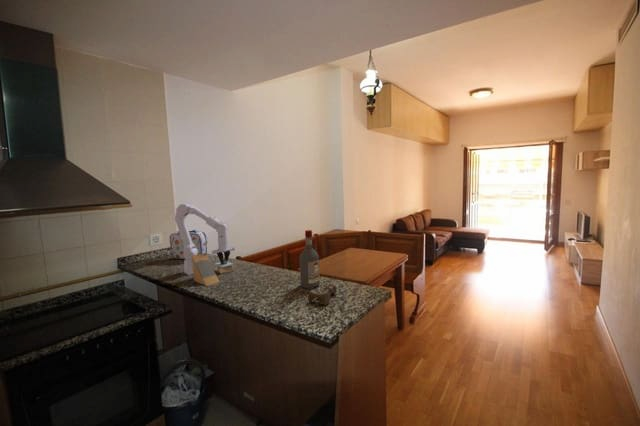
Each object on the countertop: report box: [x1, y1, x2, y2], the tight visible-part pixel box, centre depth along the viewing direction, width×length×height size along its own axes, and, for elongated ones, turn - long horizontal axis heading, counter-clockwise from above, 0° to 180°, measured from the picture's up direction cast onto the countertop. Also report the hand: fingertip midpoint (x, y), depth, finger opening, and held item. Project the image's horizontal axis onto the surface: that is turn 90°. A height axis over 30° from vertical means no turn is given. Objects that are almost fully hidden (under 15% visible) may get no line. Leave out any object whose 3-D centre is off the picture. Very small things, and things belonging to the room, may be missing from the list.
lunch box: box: [169, 229, 209, 260], centre depth 230 cm, size 28×10×22 cm, turn 81°
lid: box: [214, 258, 235, 268], centre depth 197 cm, size 10×8×3 cm
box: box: [214, 265, 235, 275], centre depth 198 cm, size 10×8×3 cm
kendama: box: [307, 283, 337, 306], centre depth 147 cm, size 6×10×20 cm
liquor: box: [299, 229, 321, 289], centre depth 166 cm, size 9×9×30 cm
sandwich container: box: [192, 253, 220, 287], centre depth 178 cm, size 9×15×15 cm, turn 47°
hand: (224, 263), depth 197 cm, fingers closed on lid, 2 cm apart
